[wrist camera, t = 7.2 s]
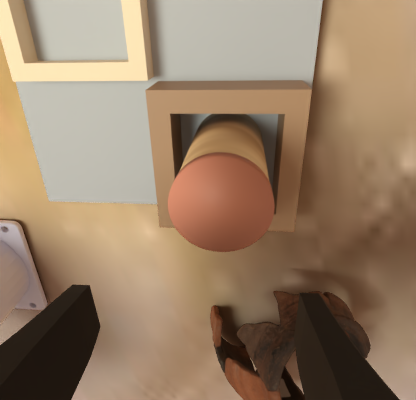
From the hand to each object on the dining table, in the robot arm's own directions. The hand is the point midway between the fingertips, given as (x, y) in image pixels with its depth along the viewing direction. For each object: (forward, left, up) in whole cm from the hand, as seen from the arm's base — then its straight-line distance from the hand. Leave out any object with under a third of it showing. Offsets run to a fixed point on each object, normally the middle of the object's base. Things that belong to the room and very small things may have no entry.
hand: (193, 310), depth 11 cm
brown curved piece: (+5, -12, -10) cm, 16 cm away
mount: (-3, +6, -10) cm, 12 cm away
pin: (+1, +3, -9) cm, 9 cm away
